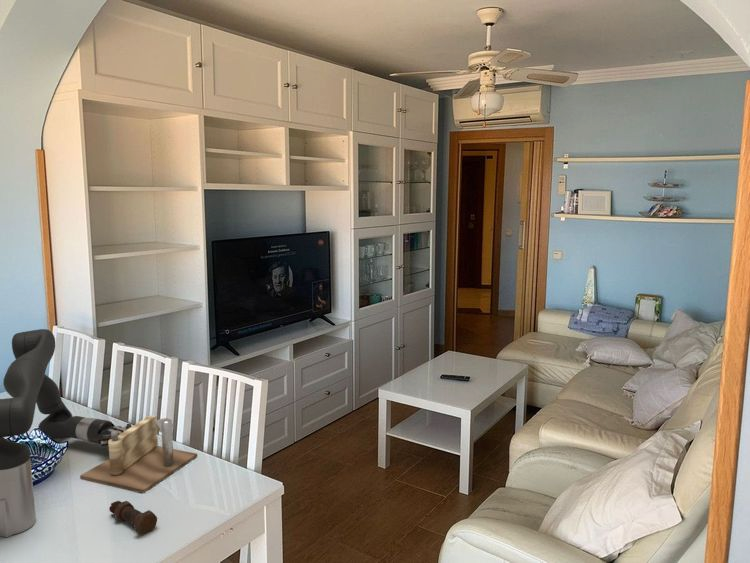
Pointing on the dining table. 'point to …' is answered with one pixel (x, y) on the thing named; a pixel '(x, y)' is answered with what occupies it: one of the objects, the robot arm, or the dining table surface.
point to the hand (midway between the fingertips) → (138, 438)
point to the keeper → (166, 440)
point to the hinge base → (139, 470)
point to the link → (132, 445)
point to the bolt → (134, 516)
